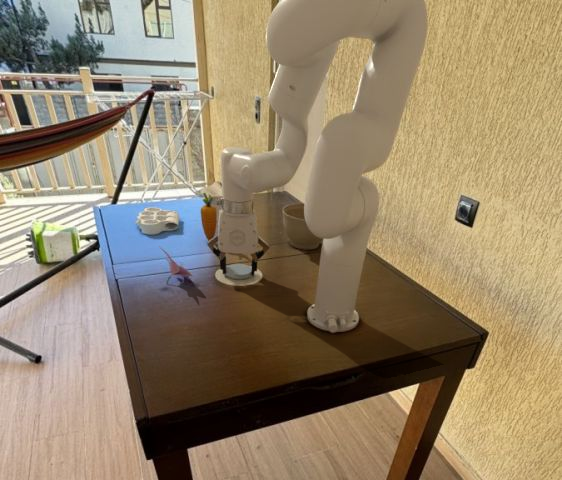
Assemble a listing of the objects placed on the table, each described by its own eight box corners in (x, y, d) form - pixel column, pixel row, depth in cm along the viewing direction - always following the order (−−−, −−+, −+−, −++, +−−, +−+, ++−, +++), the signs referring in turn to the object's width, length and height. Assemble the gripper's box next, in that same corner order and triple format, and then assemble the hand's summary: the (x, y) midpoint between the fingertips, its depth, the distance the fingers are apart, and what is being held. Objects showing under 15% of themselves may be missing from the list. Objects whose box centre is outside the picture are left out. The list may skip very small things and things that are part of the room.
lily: (194, 301, 100) (205, 265, 97) (147, 286, 95) (158, 247, 93) (190, 293, 110) (200, 260, 108) (147, 279, 106) (157, 244, 103)
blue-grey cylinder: (251, 281, 105) (251, 275, 104) (224, 279, 105) (224, 274, 104) (252, 269, 111) (252, 264, 110) (227, 268, 111) (226, 262, 110)
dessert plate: (261, 290, 104) (261, 286, 103) (212, 288, 104) (212, 284, 103) (262, 269, 114) (263, 265, 113) (218, 267, 114) (217, 263, 113)
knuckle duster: (178, 234, 131) (132, 235, 129) (179, 216, 145) (138, 216, 142) (177, 224, 129) (130, 224, 126) (178, 207, 142) (136, 207, 140)
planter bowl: (275, 250, 126) (277, 215, 119) (286, 233, 138) (289, 200, 131) (324, 257, 123) (329, 222, 116) (332, 239, 135) (336, 207, 128)
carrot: (219, 244, 127) (217, 195, 117) (204, 246, 125) (201, 196, 115) (216, 238, 130) (213, 190, 120) (201, 240, 128) (197, 191, 119)
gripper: (200, 208, 93) (205, 277, 104) (273, 212, 94) (270, 280, 105) (204, 199, 99) (208, 265, 110) (273, 202, 100) (270, 268, 111)
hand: (238, 272), depth 108 cm, fingers closed on blue-grey cylinder, 7 cm apart
